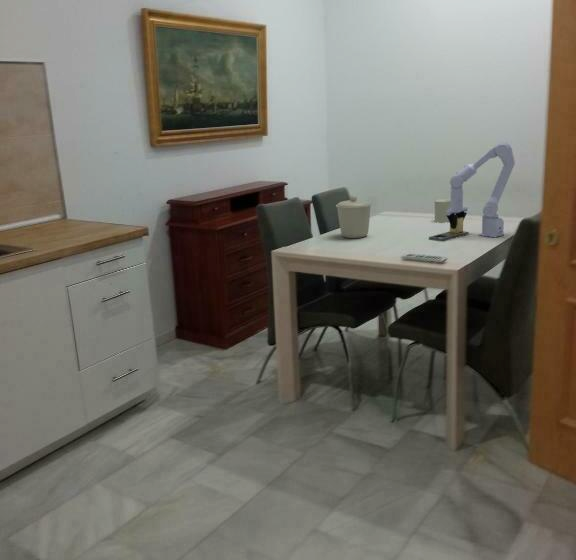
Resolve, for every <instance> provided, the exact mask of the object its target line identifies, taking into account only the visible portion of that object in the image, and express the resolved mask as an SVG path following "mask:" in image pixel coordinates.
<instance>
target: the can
mask: <svg viewBox="0 0 576 560" xmlns="http://www.w3.org/2000/svg"><path fill="white" fill-rule="evenodd" d="M450 208H451V199H448V198H447V199H446V198H445V199H444V198H441V199H436V200H434V221H435V222H434V223H437V222H439V223H440V224H443V223H444V224H445V222H447V223H450V222H449V219H448V218H447V215H446V211H448V210H449V209H450Z"/></svg>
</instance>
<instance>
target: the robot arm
mask: <svg viewBox="0 0 576 560" xmlns="http://www.w3.org/2000/svg"><path fill="white" fill-rule="evenodd" d="M514 156H515V155H514V153H513V148H512V147H511V145H510V144H509V143H508V141H507V142H506V141H500V142H499V143H498V144H497V145H494V146H492V147H491V148H490V149H488V150H486V152H485V153H484V154H483V155H481V156H480V157H479V158H478V159H477V160H475V161H474V162H473V163H468V164H464V166H463V168H461V170H459V171H457V172H456V173H455V175H453V176H452V177H451V178H450V180H449V183H450V200H451V208H450V209H449V210H448V211H446V215H447V218H448V219H449V222H448V223H449V226H450V225H451V229H455V228H456V221H457V217H463V222H464V221H465V220H464V219H465V218H466V216H467V213H468V207H467V206H464V205H463V203H464V200H463V199H464V191H463V184H464V182H467V181H469V180H470V179H471V178H472V177H473V176H475V175H476V174H477V169H479V168H480V167H481V166H483V165H484V164H485V163H486V162H488V161H489V160H490V159H494V158H497V157H498V158H499V159H500V160H501V162H502V164H503V166H502V168H501V171H500V173H499V176H498V178H497V180H496V182H495V185H494V187H493V190H492V192H491V195H490V197H489V199H488V201H487V202H486V203H485V204H484V207H483V209H482V214H483V215H482V218H481V219H482V220H481V221H482V222H481V225H482V227H481V229H482V230H481V232H482V233H478V236H481V235H482V236H481V237H488V236H489V238H497V237H501V236H504V235H505V233H504V227H505V226H504V224H505V223H504V219H503V218H501V217H499V214H497V211H498V209H499V208H498V205H499V202H500V199H501V198H502V195H503V193H504V191H505V188H506V185H507V183H508V181H509V179H510V177H511V174H512V172H513V168H514V166H515V163H516V162H515V157H514Z"/></svg>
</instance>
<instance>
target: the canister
mask: <svg viewBox="0 0 576 560" xmlns="http://www.w3.org/2000/svg"><path fill="white" fill-rule="evenodd" d="M372 205H373V203H371V202H370V201H369V200H363V199H358V197H357V195H354V194H353V195H350V196H349V199H348V200H343V201H339V202H338V203H337V204H336V205H335V207H336V209H337V216H338V222H339V223H338V224H339V228H340V233H341V235H342V237H344V238H347V239H360V238H361V239H362V238H364V237H366V236H367V235H368V234H369V228H370V219H371V218H370V216H371V206H372Z"/></svg>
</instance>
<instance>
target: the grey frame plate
mask: <svg viewBox="0 0 576 560" xmlns="http://www.w3.org/2000/svg"><path fill="white" fill-rule="evenodd" d="M467 234H468V235H469V231H465V230H463V233H459V234H454V233H450V230H449V231H446V232H442V233H439V234H438V233H437V234H436V235H431V236H428V240H430V241H437V242H447V241H448V240H454V239H456V237H457V238H460V236H461V237H464V236H468V235H467ZM463 235H464V236H463Z"/></svg>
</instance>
